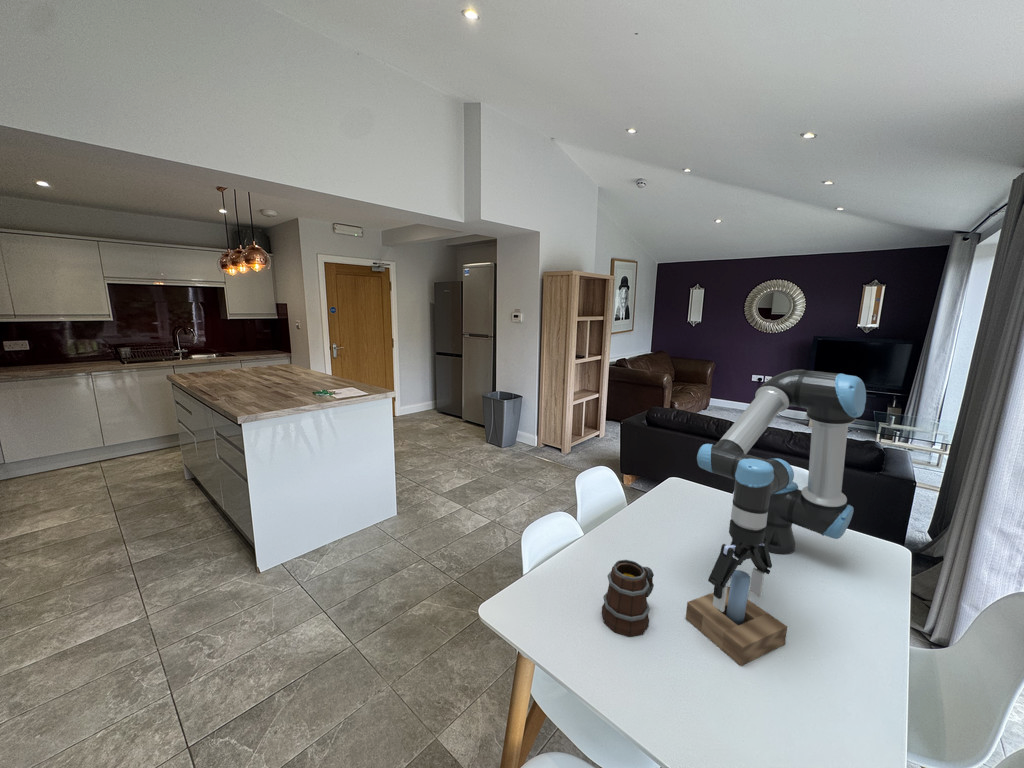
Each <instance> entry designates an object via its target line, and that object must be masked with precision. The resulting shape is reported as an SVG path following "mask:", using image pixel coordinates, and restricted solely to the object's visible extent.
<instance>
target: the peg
mask: <svg viewBox="0 0 1024 768" xmlns="http://www.w3.org/2000/svg"><path fill="white" fill-rule="evenodd" d="M750 583H751V575H750V574H749V573H747V572H746V571H743V570H741V569H735V571H734V573H733V574H732V576H731V577H730V585H729V587H730V591H729V598H728V605H727V612H726V617H728V618H729V619H730V620H732V621H733V622H734V623H736V624H737V625H741V624H743V623H744V617H745V611H746V604H747V599H748V597H749V596H748V595H749V590H750Z"/></svg>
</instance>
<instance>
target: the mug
mask: <svg viewBox="0 0 1024 768" xmlns="http://www.w3.org/2000/svg"><path fill="white" fill-rule="evenodd" d="M654 576H655V575H654V571H653V570H652V568H651V567H648V566H642V565H641V564H640V563H638V562H637V561H634V560H630V559H622V560H621V559H620V560H617V561H616V562H615V563H614V564H613V566H612V567H611V571H610V572H609V573H607V579H608V587H607V591H606V593H605V594H603V604H602V606H601V615H602V619H603V620H602V621H603V623H604V624H605V625H606V626H607V627H608V628H609V629H611V630H612V631H613V632H614V633H616V634H620V635H623V636H626V637H629V638H631V637H636V636H640V635H644V634H645V633H646V630H647V629H648V628H649V625H650V618H649V612H650V610H651V609H650V606H649V602H648V599H647V598H649V596H650V595H651V594H652V593H653V590H654V588H655V587H654V586H655V585H654V583H653V579H654Z"/></svg>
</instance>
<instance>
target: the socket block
mask: <svg viewBox="0 0 1024 768" xmlns="http://www.w3.org/2000/svg"><path fill="white" fill-rule="evenodd" d="M726 587H727V594H726V602H725V610H724V612H721V611H720V610H719V609H717V608H716V607H715V606H713V598H714V594H713V593H714V591H713V592H711V593H708V594H706V595H703V596H700V597H697V598H694V599H692V600H689V601H687V603H686V612H685V620H686V621H687V622H689V623H690V624H691V625H692V626H693V627H694V628H695V629H697V630H698V631H699V632H700V633H701V634H702V635H704V636H705V637H706V638H707V639H709V641H711V642H712V643H713V644H714V645H715V646H716V647H717V648H719V649H720V650H721V651H722V652H723V653H724V654H726V656H728V657H729V658H730V659H732V660H733V661H734V662H735V663H736V664H738V666H739V667H742V666H743V665H746V664H747V663H750V662H752V661H754V660H756V659H759V658H760V657H763V656H764V655H767V654H769V653H770V652H772V651H774V650H777V649H778V648H781V647H783V646H785V644H786V640H787V639H786V638H787V633H788V632H787V631H788V625H786V624H784V623H783V622H782V621H780V620H778V619H777V618H775V617H774V616H773V615H772V614H770V613H769V612H768V611H765V610H764V609H762V608H761V607H760V606H758V605H757V604H755V603H754V602H752V600H750V599H748V598H747V604H746V611H745V617H744V623H743V624H741V625H737V624H736V623H734V622H733V621H732V620H730V619H729V618H728V617H726V612H727V605H728V598H729V591H730V586H726Z"/></svg>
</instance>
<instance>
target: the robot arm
mask: <svg viewBox="0 0 1024 768" xmlns="http://www.w3.org/2000/svg"><path fill="white" fill-rule="evenodd" d="M754 396H755V398H754V399H753V400H752V401H751V403H750V404H749V405H748V406H747V408H746V409H745V410H743V412H742V413H741V415H740V416H739V417H738V418H737V419H736V421H735V422H733V424H732V425H731V426H730V427H729V429H728V430H727V431H726V432H725V433H724V434H723V436H722V437H721V438H720V439H719V440H718V441H717V442H716V444H713V443H705V444H704V443H703V444H702V445H701V446H700V447H699V448H698V452H697V455H696V461H697V465H698V467H699V468H700V469H702V470H705V471H707V472H709V473H711V474H716V475H720V476H721V477H722V476H723V477H726V478H728V479H731V480H734V488H733V489H734V490H733V495H732V506H731V512H730V513H731V514H730V521H729V528H728V534H729V537H731V539H732V540H731V543H730V545H727V544H725V543H722V544H721V546H720V547H721V548H720V550H719V551H720V552H719V554H718V557H717V559H716V562H715V563H714V566H713V568H712V570H711V572H710V574H709V577H708V579H707V581H708V582H709V583H711V584H712V585H713V586H714V587H713V592H714V593H713V592H712V593H713V594H714V598H713V606H715V607H716V608H717V609H719V610H720V611H721V612H724V610H725V602H726V594H727V587H728V586H727V584H728V583H729V582H730V581H729V580H731V577H732V574H733V573H734V571H735V570H737V568H738V566H741V565H742V564H743V563H744V561H746V560H750V561H751V562H752V563H753V565H754V567H753V568H752V570H751V575H750V584H749V590H748V592H750V593H752V594H754V595H755V596H756V597H758V598H761V597H762V593H763V586H764V579H765V574H766V575H769V574H770V573H771V570H770V569H772V568H773V563H772V559H771V556H770V553H773V554H777V555H778V554H779V555H787V554H792V553H793V552H794V551H795V549H796V540H795V536H794V531H793V525H796V526H798V527H801V528H804V529H805V530H809V531H811V532H814V533H816V534H819V535H821V536H824V537H829V538H830V539H835V540H837V539H840V538H842V536H844V534H845V533H846V530H847V528H848V527H849V525H850V523H851V520H852V518H853V515H854V507H853V505H851V504H847V502H848V498H847V496H846V495H845V494H844V493H843V492H842V490H843V481H844V480H843V479H844V472H845V471H844V470H845V460H846V459H845V458H846V451H847V449H846V448H847V439H848V430H849V425H850V424H853V423H854V422H855V421H856V419H857V418H860V417H861V416H862V415H863V414H864V412H865V409H866V403H867V390H866V386H865V383H864V381H863V380H862V379H861V378H860V377H858V376H857V375H850V374H845V373H836V372H827V371H826V372H825V371H815V370H808V369H807V370H806V369H792V370H787V371H785V372H781V373H779V374H777V375H775V376H772V377H771V378H769V379H768V380H766V381H765V382H764V383H763V384H762V385H761V386H759V388H758V389H757V390H756V392H755V395H754ZM789 407H797V408H802V409H806V417H807V419H809V420H810V421H811V422H812V423H811V434H810V446H809V447H810V450H809V462H808V463H809V464H808V475H807V476H808V477H807V486H805V487H803V488H802V489H799V485H798V483H797V482H794V478H795V472H794V469H793V467H792V466H791V464H790V463H789V462H787V461H786V460H784V459H781V458H775V457H774V458H769V459H764V458H762V457H758V456H753V455H751V454H748V453H749V451H750V450H751V448H752V447H753V446H754V445H755V444H756V442H758V440H759V438H760V437H761V436H762V435H763V433H764V432H765V431H766V429H767V428H768V427H769V426H770V424H771V423H772V422H773V421H774V420H775V418H776V417H777V416H778V414H779V413H782V412H785V411H786V410H788V408H789Z"/></svg>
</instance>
